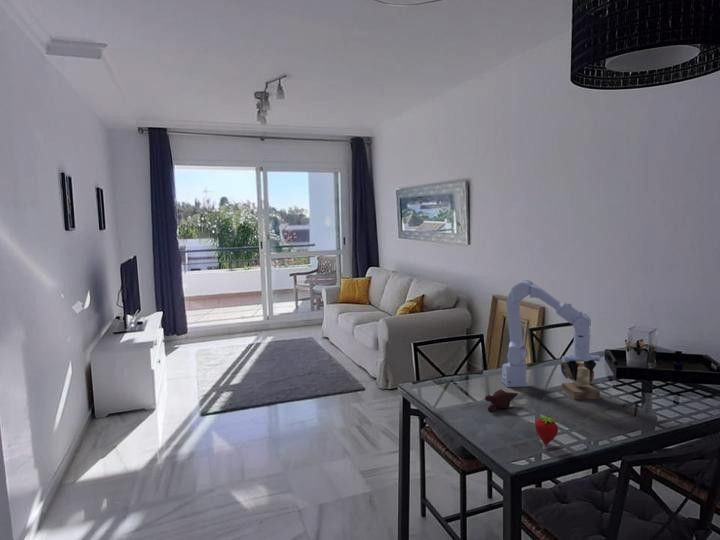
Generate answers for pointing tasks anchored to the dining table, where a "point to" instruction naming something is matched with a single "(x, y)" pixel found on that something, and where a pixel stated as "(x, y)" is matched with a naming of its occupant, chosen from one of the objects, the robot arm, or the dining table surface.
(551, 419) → the strawberry
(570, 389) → the plinth
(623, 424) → the dining table surface
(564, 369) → the tin
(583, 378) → the birch block
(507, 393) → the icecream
